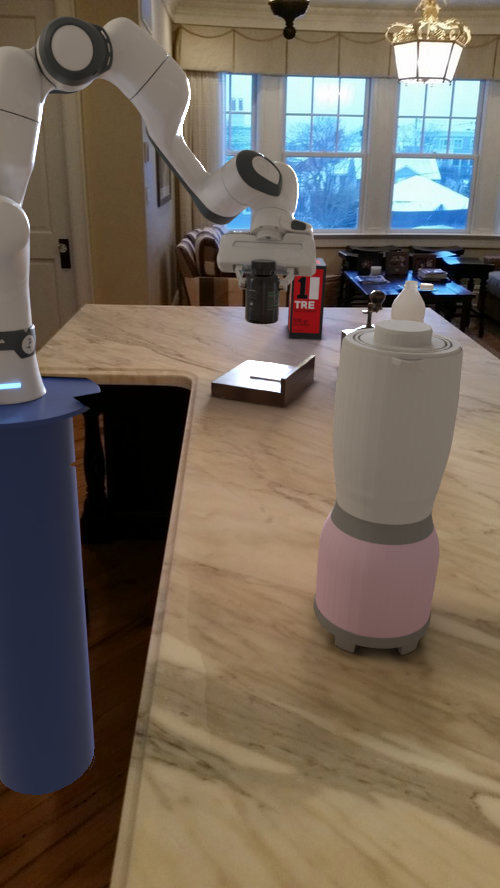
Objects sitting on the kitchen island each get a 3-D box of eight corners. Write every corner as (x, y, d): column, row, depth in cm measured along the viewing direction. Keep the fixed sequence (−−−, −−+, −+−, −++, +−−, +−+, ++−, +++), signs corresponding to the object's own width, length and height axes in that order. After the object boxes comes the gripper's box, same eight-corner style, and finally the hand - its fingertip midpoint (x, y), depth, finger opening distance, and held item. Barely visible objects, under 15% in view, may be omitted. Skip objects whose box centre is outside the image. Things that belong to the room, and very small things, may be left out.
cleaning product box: (287, 325, 210) (291, 256, 203) (317, 326, 210) (322, 257, 203) (289, 338, 195) (293, 264, 188) (321, 339, 195) (326, 265, 188)
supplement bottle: (238, 319, 144) (239, 259, 140) (264, 316, 148) (266, 257, 143) (258, 326, 139) (260, 264, 135) (285, 322, 143) (287, 261, 138)
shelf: (211, 396, 145) (211, 368, 143) (247, 372, 163) (248, 346, 160) (284, 407, 140) (285, 378, 138) (313, 381, 157) (315, 355, 155)
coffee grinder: (395, 380, 160) (404, 301, 154) (348, 380, 159) (355, 300, 152) (376, 362, 175) (384, 288, 168) (333, 362, 173) (338, 288, 167)
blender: (440, 662, 69) (492, 345, 58) (316, 657, 70) (343, 339, 58) (410, 575, 84) (447, 307, 72) (308, 571, 84) (328, 303, 72)
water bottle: (374, 401, 145) (387, 278, 136) (398, 397, 148) (413, 277, 139) (402, 414, 138) (418, 286, 129) (427, 410, 141) (444, 284, 132)
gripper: (219, 220, 144) (209, 276, 139) (319, 224, 141) (312, 281, 136) (224, 241, 150) (213, 295, 145) (320, 245, 147) (313, 300, 142)
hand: (262, 288), depth 140 cm, fingers closed on supplement bottle, 7 cm apart
